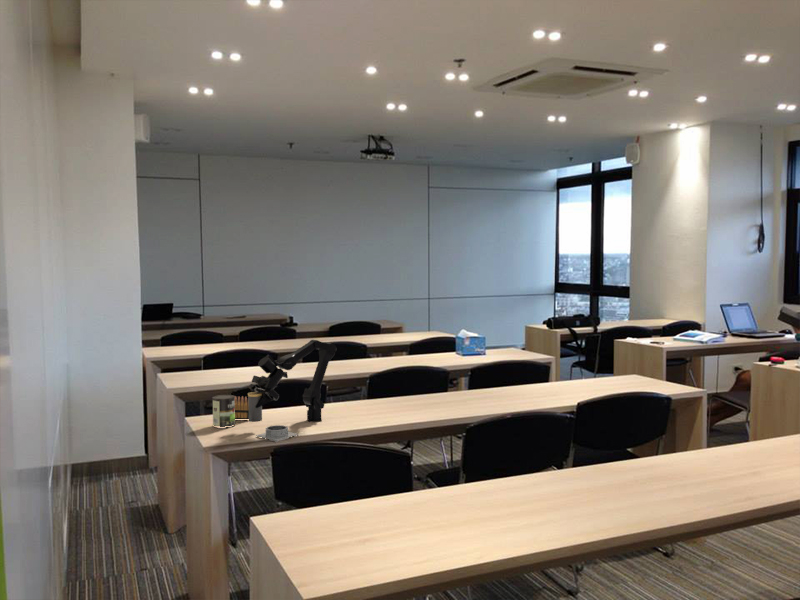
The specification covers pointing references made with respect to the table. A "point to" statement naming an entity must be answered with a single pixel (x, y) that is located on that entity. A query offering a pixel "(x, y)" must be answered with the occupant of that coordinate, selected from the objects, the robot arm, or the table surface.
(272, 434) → the duct collar
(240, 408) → the ammunition clip
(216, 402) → the coffee can
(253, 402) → the grey cylindrical piece
